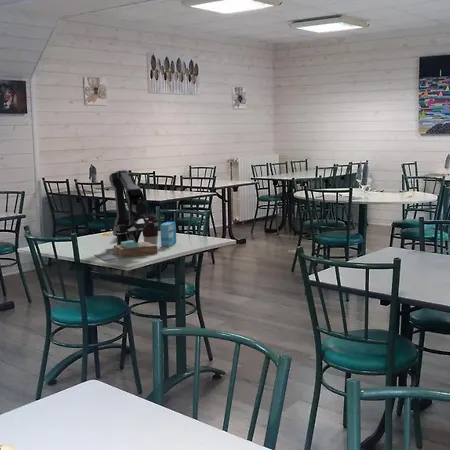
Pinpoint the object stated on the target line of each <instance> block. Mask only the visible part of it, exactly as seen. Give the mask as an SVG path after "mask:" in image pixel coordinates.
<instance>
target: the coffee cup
mask: <svg viewBox="0 0 450 450" xmlns="http://www.w3.org/2000/svg"><path fill="white" fill-rule="evenodd" d="M144 218H148V219H149V221H150V222H153V223H154V224H155V228H148V227H145V228H144V231H142V232H141V233H142V237H143V242H149V243H152V244H154V245H157V244H158V237H159V222H160V218H157V215H145V216H142V219H144Z"/></svg>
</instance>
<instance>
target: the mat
mask: <svg viewBox="0 0 450 450" xmlns="http://www.w3.org/2000/svg"><path fill="white" fill-rule="evenodd" d="M94 256H95V257H96V258H99V259H100V260H102V261H104V262H105V261H112V260H120V259H125V258H124V257H122V256H120V255H118V254H116V253H114V251H113V252H105V253H99V254H98V253H97V254H94Z"/></svg>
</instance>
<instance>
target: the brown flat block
mask: <svg viewBox="0 0 450 450" xmlns="http://www.w3.org/2000/svg"><path fill="white" fill-rule="evenodd" d="M138 243H139V247H135V248H125V247H123V246H121V245H117V244H114V245H113V252H114V253H116V254H118V255H120V256H122V257H124V258H123V259H126V258H133V257H141V256H148V255H157V254H158V253H159V251H158V245H157V244H152V243H149V242H144V241H141V242H138Z"/></svg>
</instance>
